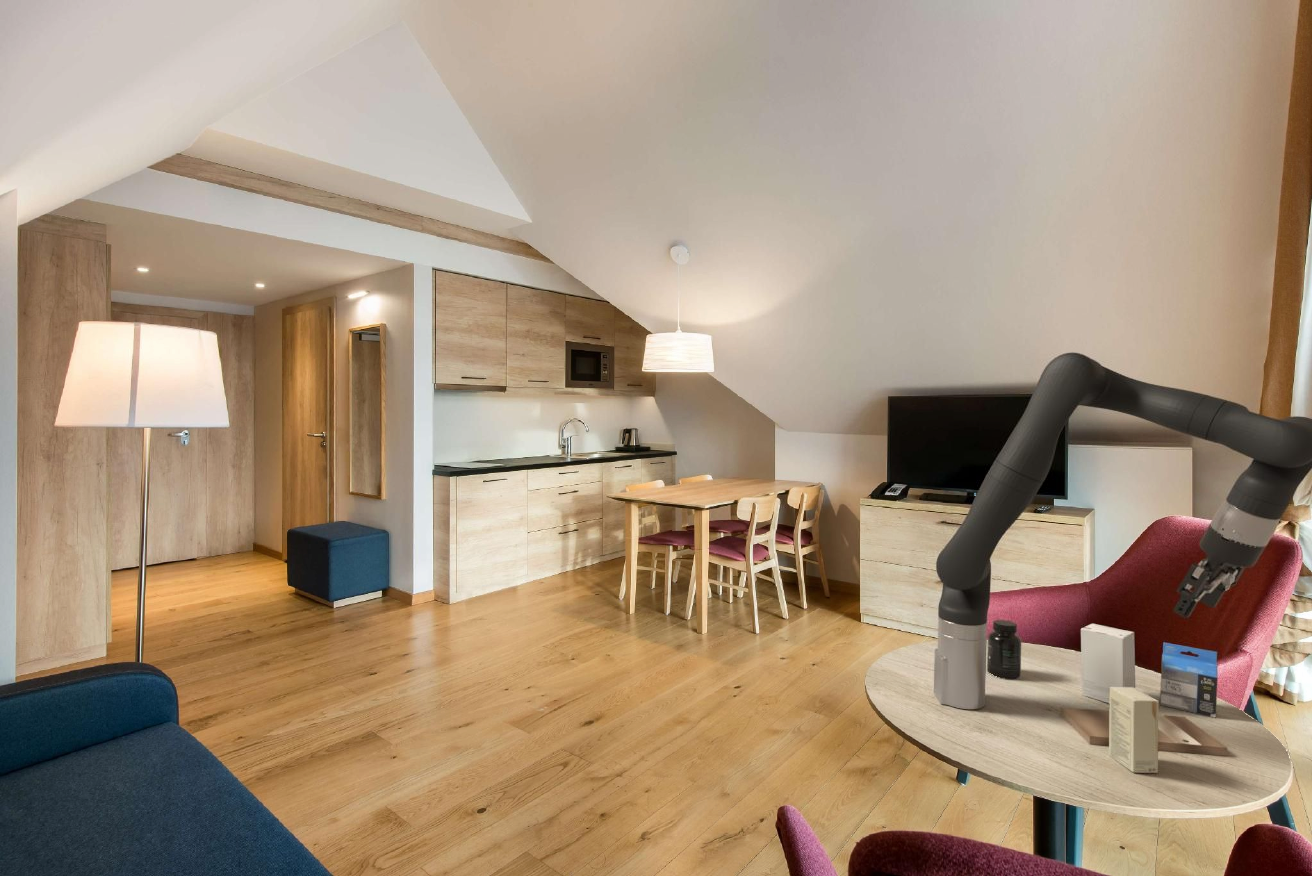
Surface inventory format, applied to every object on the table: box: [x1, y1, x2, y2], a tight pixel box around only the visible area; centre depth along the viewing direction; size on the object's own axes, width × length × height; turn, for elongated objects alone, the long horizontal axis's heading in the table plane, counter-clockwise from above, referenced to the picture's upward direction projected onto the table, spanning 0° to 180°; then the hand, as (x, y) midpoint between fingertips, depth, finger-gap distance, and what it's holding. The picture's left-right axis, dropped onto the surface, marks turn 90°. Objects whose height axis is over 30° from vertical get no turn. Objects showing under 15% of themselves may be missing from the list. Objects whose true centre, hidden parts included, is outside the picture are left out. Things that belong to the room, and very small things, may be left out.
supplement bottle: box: [986, 619, 1022, 680], centre depth 150 cm, size 7×7×12 cm
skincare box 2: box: [1108, 687, 1160, 774], centre depth 111 cm, size 6×4×12 cm
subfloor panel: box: [1060, 706, 1228, 756], centre depth 122 cm, size 22×12×2 cm, turn 80°
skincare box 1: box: [1080, 623, 1136, 704], centre depth 137 cm, size 8×6×15 cm
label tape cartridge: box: [1159, 642, 1218, 718], centre depth 133 cm, size 9×4×12 cm, turn 51°
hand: (1193, 609), depth 113 cm, fingers open, 8 cm apart
